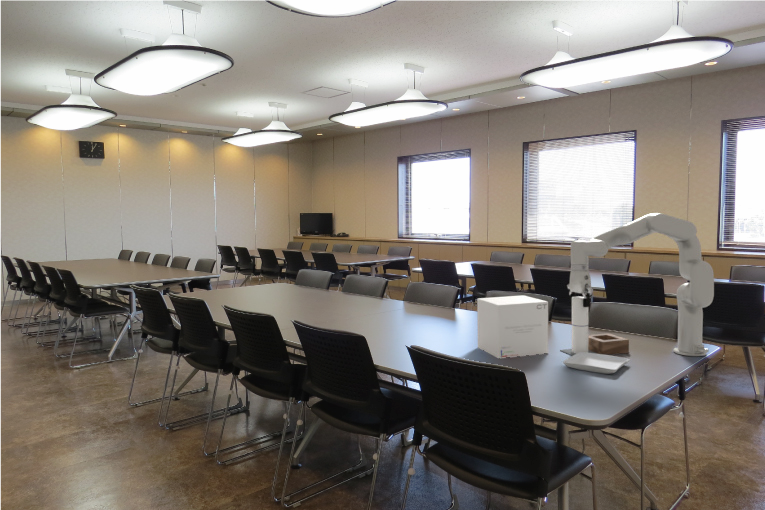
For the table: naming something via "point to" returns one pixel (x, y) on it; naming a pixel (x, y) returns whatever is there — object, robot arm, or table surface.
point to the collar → (607, 344)
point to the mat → (569, 351)
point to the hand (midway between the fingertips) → (579, 305)
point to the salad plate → (595, 362)
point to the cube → (512, 326)
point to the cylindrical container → (579, 326)
